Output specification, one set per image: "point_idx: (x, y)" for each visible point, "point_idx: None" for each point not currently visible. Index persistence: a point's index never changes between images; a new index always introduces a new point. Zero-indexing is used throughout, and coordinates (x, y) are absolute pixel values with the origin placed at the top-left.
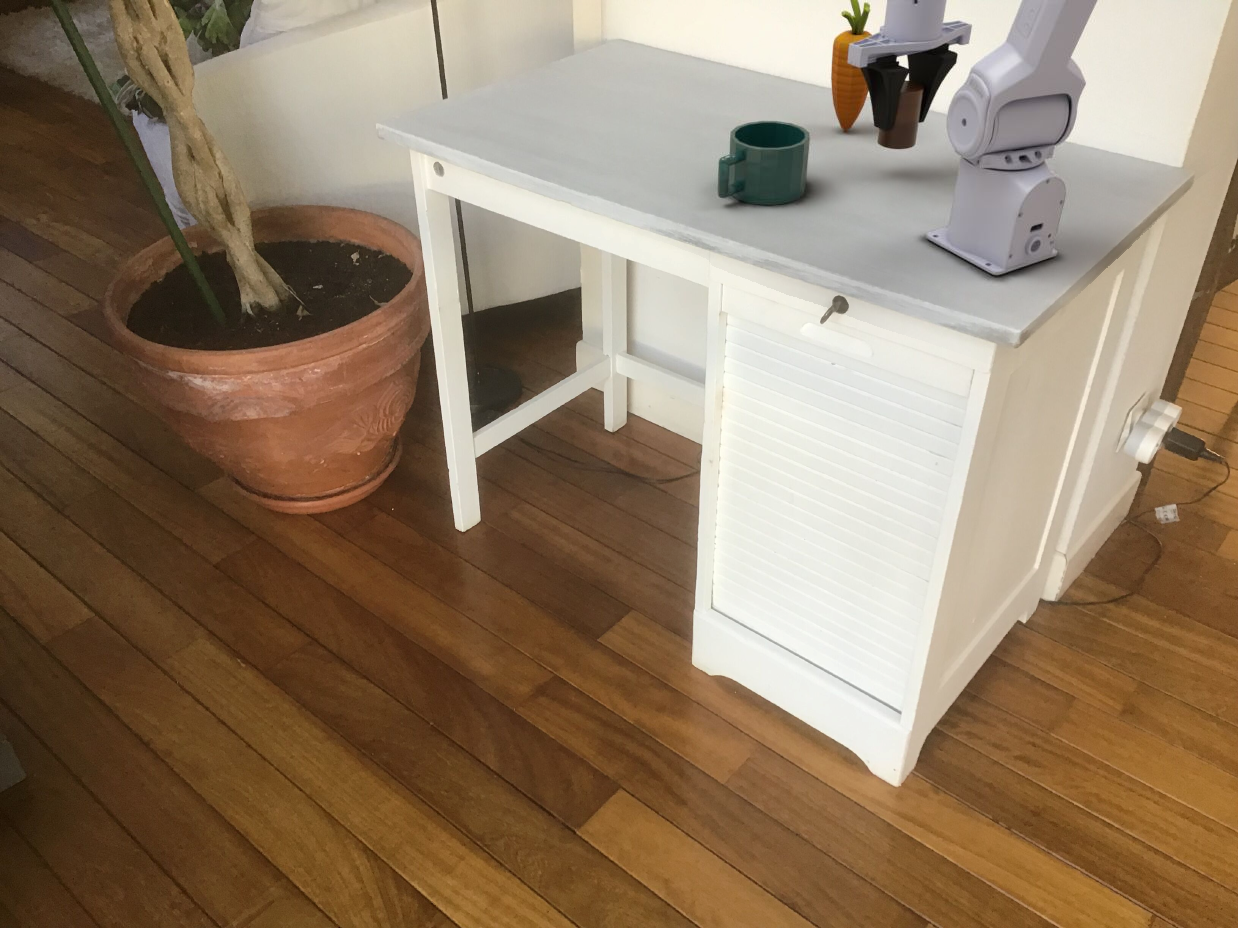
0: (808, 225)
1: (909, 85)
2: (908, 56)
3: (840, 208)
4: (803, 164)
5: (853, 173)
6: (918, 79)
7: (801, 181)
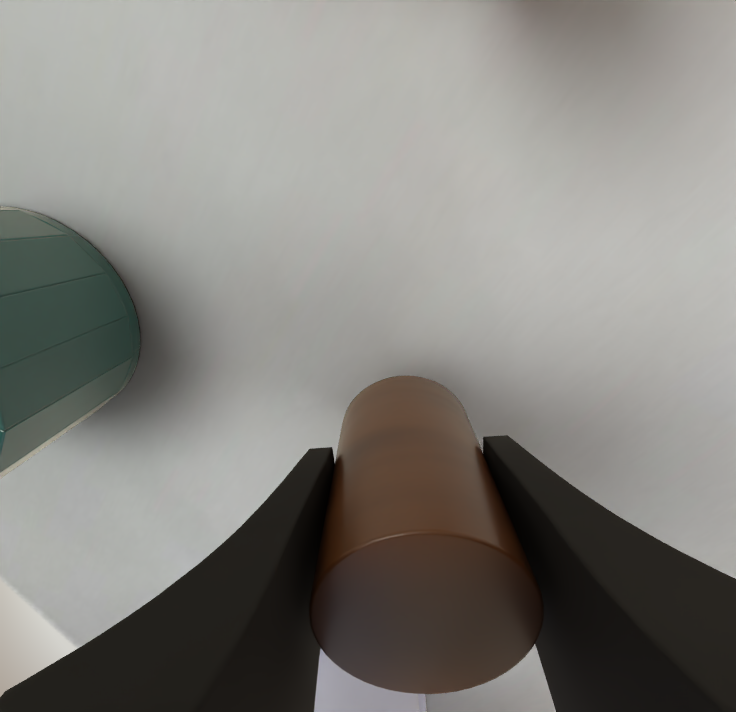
0: (87, 510)
1: (461, 627)
2: (666, 679)
3: (183, 478)
4: (38, 451)
5: (311, 331)
6: (562, 622)
7: (75, 425)
